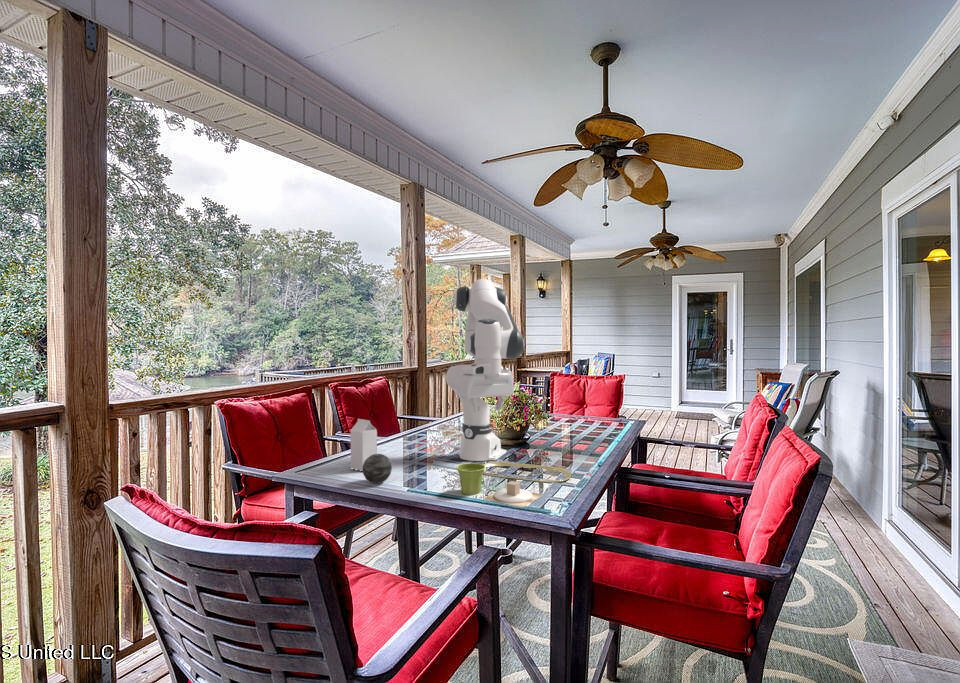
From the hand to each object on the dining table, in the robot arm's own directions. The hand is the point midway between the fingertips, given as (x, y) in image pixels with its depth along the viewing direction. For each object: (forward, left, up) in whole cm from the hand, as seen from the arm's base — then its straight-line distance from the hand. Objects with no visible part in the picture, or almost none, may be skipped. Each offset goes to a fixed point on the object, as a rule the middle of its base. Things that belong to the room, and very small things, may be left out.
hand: (487, 410), depth 159 cm
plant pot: (+4, -4, -27) cm, 27 cm away
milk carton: (+2, -55, -27) cm, 61 cm away
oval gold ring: (-25, 0, -27) cm, 37 cm away
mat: (+1, +10, -27) cm, 28 cm away
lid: (+1, +10, -26) cm, 28 cm away
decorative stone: (+12, -38, -27) cm, 48 cm away
